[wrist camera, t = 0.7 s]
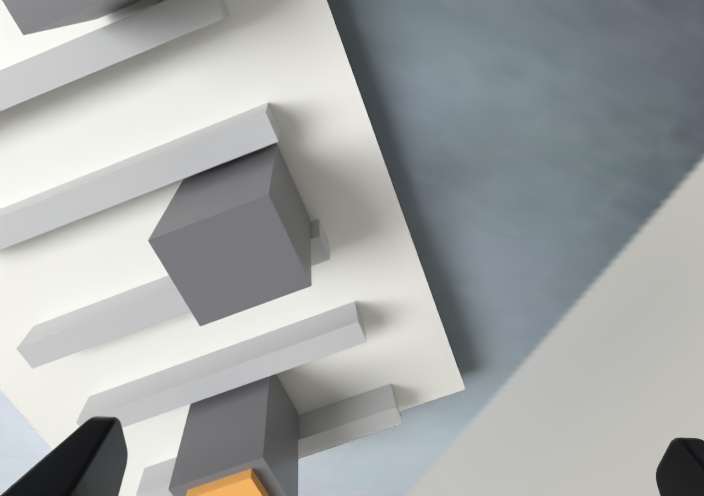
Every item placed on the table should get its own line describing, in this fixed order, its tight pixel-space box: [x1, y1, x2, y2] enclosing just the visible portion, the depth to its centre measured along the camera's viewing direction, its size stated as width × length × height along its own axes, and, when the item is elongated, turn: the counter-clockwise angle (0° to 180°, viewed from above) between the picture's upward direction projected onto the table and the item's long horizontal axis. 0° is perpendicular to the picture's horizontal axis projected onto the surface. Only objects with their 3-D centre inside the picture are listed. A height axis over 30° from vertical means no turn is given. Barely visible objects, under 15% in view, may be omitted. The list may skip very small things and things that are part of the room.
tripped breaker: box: [168, 374, 298, 496], centre depth 21 cm, size 4×3×5 cm
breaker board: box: [0, 0, 465, 496], centre depth 20 cm, size 18×24×3 cm
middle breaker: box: [148, 143, 312, 326], centre depth 18 cm, size 4×3×5 cm
